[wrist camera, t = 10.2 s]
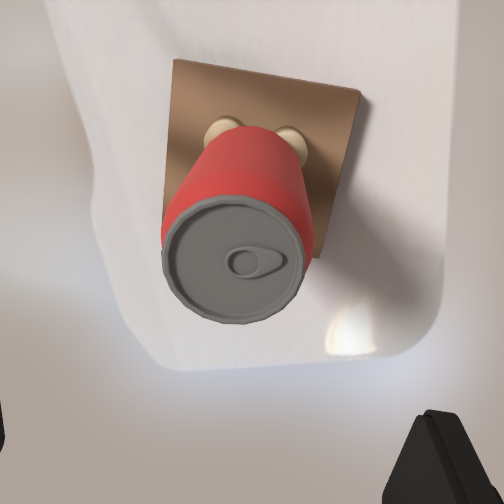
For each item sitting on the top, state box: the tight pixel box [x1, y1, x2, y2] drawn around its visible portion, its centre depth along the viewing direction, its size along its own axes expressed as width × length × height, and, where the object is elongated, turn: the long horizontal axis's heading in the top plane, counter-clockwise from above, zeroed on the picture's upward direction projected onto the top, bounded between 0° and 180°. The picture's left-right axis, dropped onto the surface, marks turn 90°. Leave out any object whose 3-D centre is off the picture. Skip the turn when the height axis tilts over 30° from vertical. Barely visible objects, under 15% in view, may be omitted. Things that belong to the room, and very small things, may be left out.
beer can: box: [161, 126, 315, 325], centre depth 22 cm, size 7×7×12 cm
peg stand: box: [162, 59, 361, 258], centre depth 30 cm, size 12×12×4 cm
